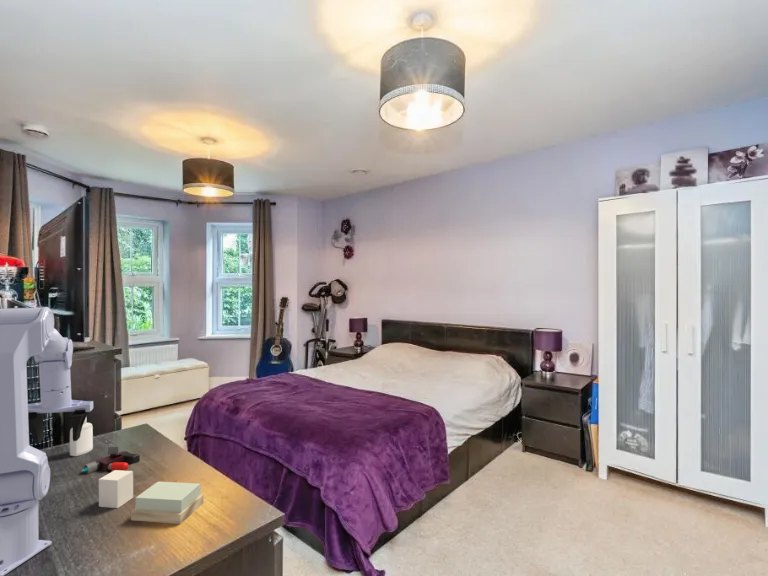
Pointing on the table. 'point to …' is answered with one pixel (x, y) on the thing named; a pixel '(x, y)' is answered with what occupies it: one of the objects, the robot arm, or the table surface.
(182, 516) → the oak base slab
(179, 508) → the sage top slab
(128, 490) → the cream block
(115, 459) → the toy gun
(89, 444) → the eye dropper bottle
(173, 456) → the table surface
